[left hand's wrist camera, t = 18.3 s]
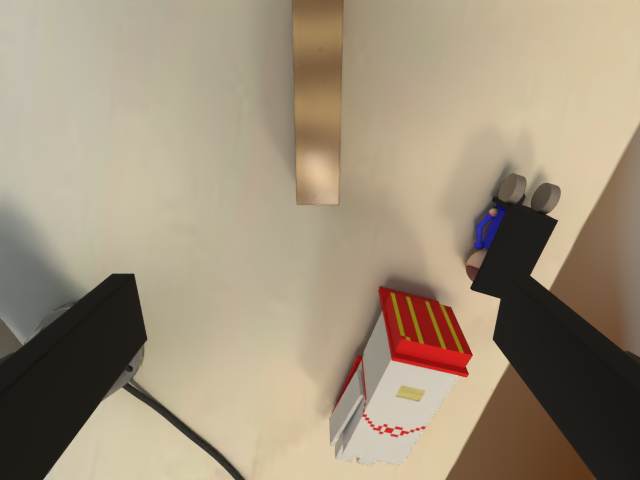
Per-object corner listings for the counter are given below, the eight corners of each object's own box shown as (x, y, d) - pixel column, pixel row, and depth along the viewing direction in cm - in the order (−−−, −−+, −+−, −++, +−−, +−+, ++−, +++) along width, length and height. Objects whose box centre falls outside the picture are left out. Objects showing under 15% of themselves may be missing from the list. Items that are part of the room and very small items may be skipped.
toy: (317, 486, 53) (388, 340, 39) (320, 406, 65) (375, 272, 51) (395, 501, 54) (491, 364, 40) (383, 419, 66) (455, 292, 52)
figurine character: (488, 169, 47) (449, 273, 51) (521, 172, 40) (473, 293, 44) (534, 182, 48) (492, 284, 52) (575, 188, 41) (523, 306, 44)
